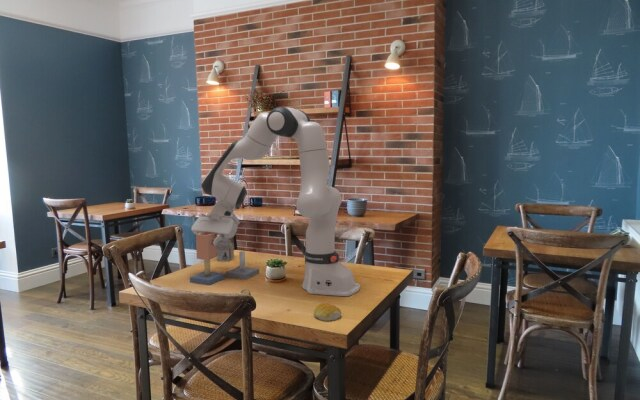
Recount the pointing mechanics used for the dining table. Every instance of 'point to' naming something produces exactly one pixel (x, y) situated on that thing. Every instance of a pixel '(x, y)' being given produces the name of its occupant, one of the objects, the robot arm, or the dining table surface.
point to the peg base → (207, 275)
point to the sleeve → (205, 246)
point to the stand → (242, 269)
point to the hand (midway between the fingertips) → (206, 243)
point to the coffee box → (225, 249)
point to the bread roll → (327, 312)
